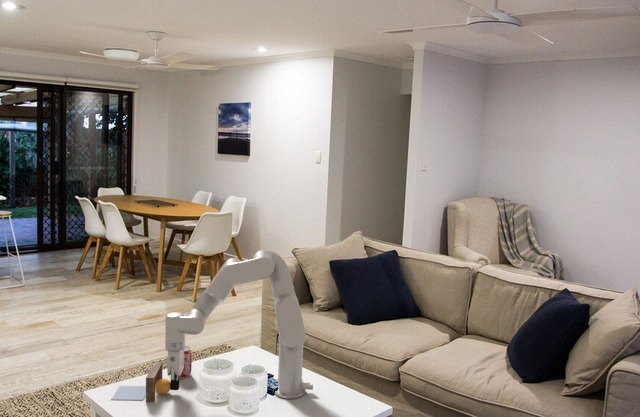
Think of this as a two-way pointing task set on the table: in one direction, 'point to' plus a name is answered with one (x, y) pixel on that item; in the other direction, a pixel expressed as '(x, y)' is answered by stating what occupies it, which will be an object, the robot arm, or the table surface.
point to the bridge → (153, 381)
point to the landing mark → (130, 393)
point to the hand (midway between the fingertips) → (174, 389)
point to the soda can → (187, 363)
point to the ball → (162, 386)
